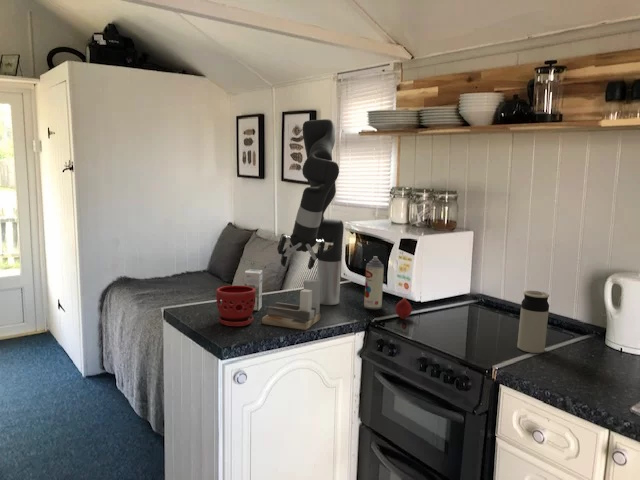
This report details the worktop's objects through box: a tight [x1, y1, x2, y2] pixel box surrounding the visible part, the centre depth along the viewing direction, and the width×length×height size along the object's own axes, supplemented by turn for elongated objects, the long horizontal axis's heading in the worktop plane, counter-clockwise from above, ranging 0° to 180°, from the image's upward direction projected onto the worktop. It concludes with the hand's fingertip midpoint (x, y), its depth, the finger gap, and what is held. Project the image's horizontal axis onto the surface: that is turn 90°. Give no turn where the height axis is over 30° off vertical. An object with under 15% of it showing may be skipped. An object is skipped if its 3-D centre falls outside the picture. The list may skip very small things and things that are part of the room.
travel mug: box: [516, 290, 550, 354], centre depth 167 cm, size 8×8×18 cm
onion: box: [394, 297, 413, 320], centre depth 195 cm, size 6×6×8 cm
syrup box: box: [243, 269, 263, 312], centre depth 200 cm, size 6×6×14 cm
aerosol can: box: [363, 255, 385, 310], centre depth 209 cm, size 7×7×20 cm
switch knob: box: [299, 288, 315, 319], centre depth 185 cm, size 4×5×9 cm
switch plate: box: [261, 301, 321, 331], centre depth 187 cm, size 14×16×5 cm
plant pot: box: [215, 285, 256, 327], centre depth 182 cm, size 13×13×12 cm
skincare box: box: [303, 278, 321, 314], centre depth 199 cm, size 6×4×12 cm
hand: (296, 266), depth 171 cm, fingers open, 8 cm apart
